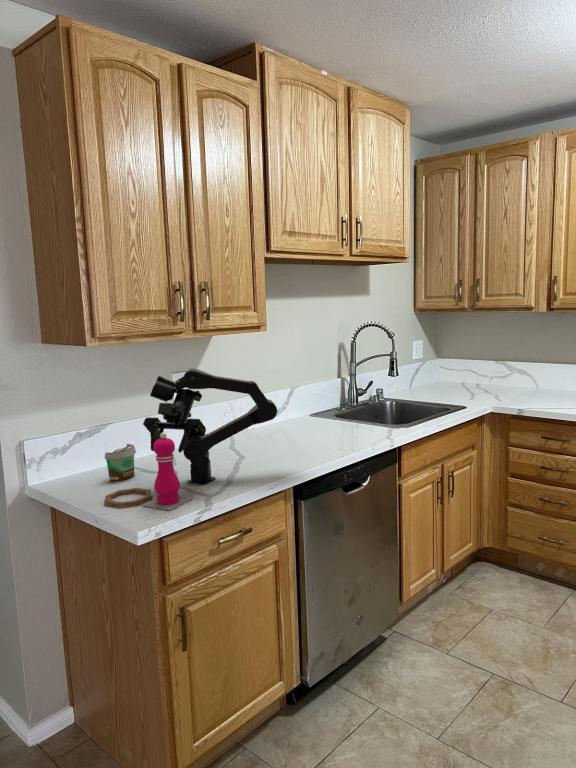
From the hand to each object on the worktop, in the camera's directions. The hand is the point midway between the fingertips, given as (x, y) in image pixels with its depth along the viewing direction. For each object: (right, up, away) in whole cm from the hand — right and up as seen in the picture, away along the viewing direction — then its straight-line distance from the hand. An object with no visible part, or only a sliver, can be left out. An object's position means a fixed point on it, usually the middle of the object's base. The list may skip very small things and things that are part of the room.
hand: (165, 451), depth 174 cm
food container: (-17, -11, +22) cm, 30 cm away
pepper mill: (+2, -14, -4) cm, 15 cm away
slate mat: (+2, -14, -4) cm, 15 cm away
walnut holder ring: (-11, -14, 0) cm, 18 cm away
